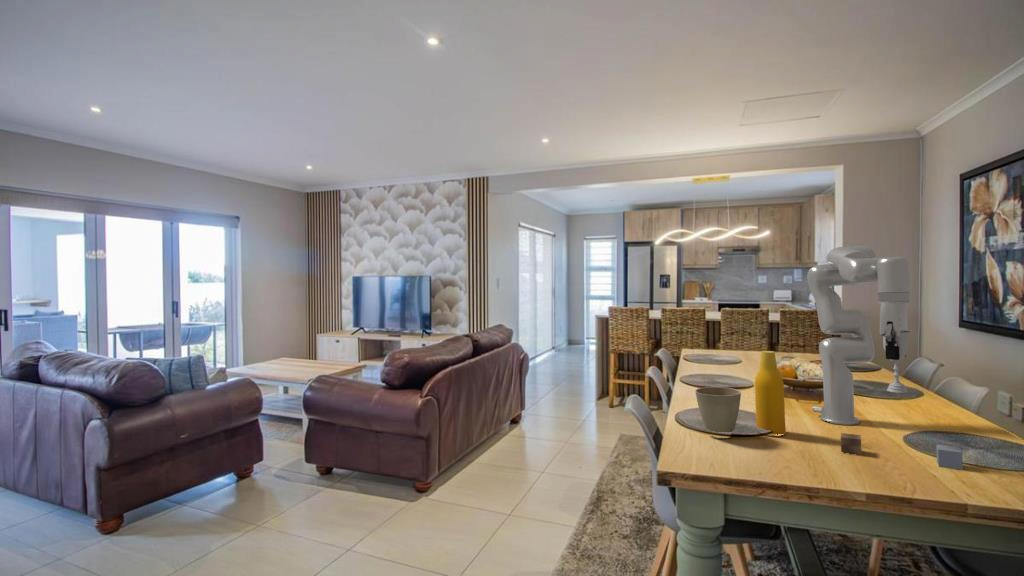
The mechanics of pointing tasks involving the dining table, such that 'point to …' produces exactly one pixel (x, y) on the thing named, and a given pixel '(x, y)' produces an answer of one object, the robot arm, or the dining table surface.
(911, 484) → the dining table surface
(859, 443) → the walnut block
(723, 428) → the plant pot
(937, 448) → the slate block
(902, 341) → the chalice
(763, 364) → the beer bottle
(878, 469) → the dining table surface
